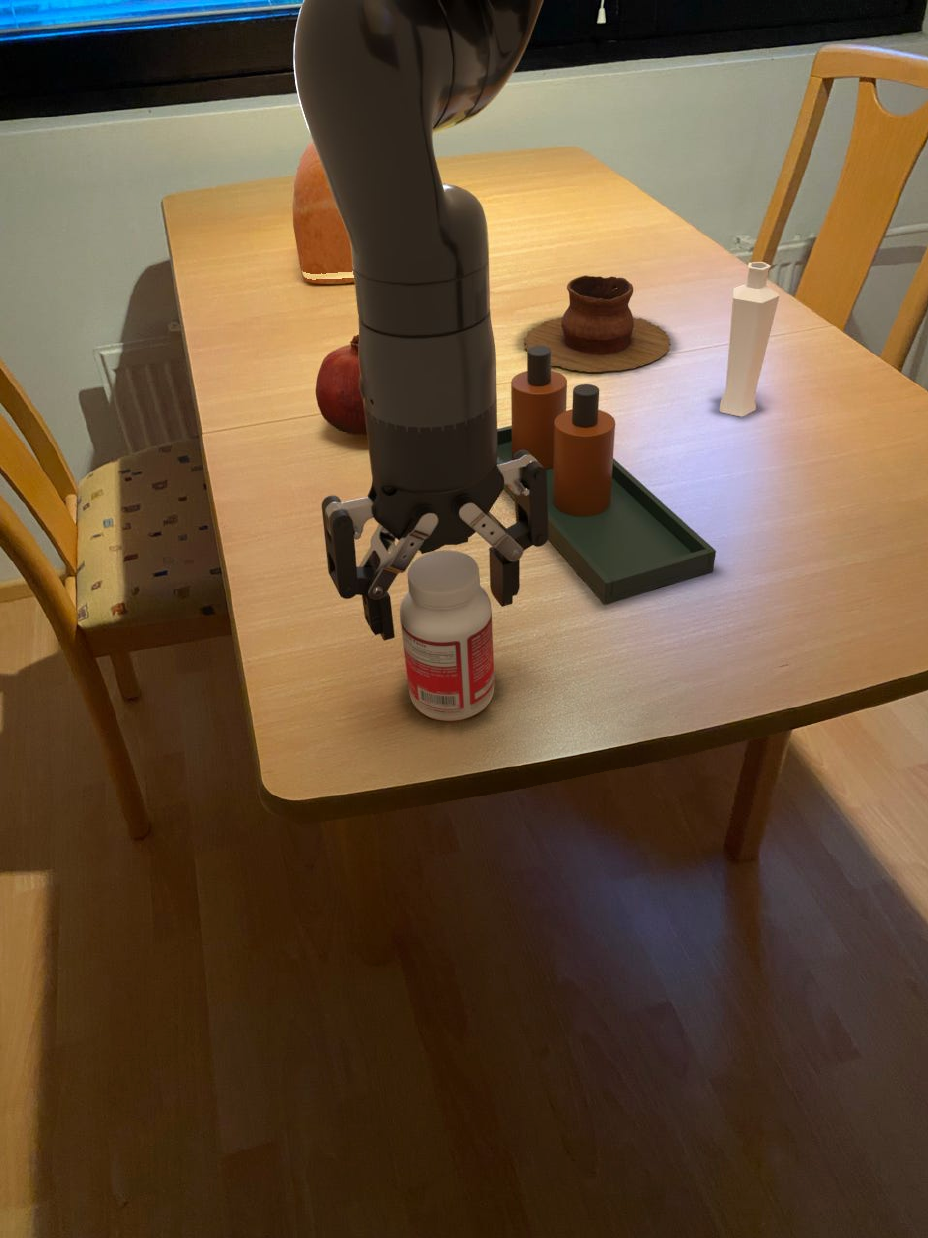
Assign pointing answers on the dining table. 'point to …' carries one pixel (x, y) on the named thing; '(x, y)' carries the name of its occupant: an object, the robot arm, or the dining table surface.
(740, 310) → the white faceted vase
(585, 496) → the amber bottle middle
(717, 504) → the dining table surface
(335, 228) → the bread
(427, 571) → the pill bottle
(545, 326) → the ceramic pot
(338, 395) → the fruit
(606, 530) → the tray
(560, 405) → the amber bottle far
